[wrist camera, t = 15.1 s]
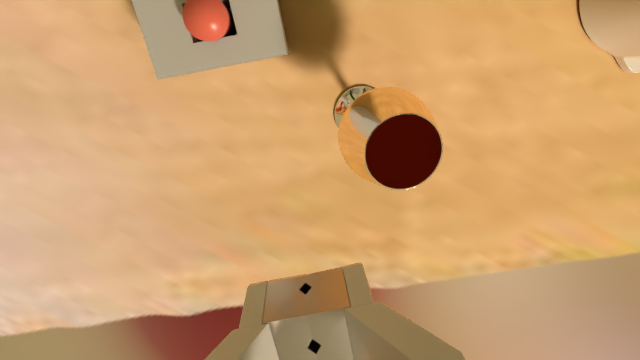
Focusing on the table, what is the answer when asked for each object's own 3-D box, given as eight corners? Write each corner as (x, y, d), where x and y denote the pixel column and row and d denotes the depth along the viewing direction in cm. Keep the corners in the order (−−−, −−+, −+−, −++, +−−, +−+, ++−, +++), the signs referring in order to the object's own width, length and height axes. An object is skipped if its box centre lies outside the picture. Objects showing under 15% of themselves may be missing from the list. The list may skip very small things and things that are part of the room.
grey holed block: (273, -27, 36) (267, -47, 29) (289, 54, 39) (287, 54, 32) (160, -5, 36) (125, -19, 29) (184, 74, 39) (157, 79, 32)
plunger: (237, 3, 36) (220, -12, 28) (246, 40, 38) (232, 36, 29) (203, 10, 36) (176, -3, 28) (213, 46, 38) (190, 44, 29)
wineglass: (317, 134, 43) (331, 188, 26) (339, 67, 40) (371, 78, 23) (379, 153, 44) (431, 216, 27) (404, 90, 41) (479, 115, 24)
